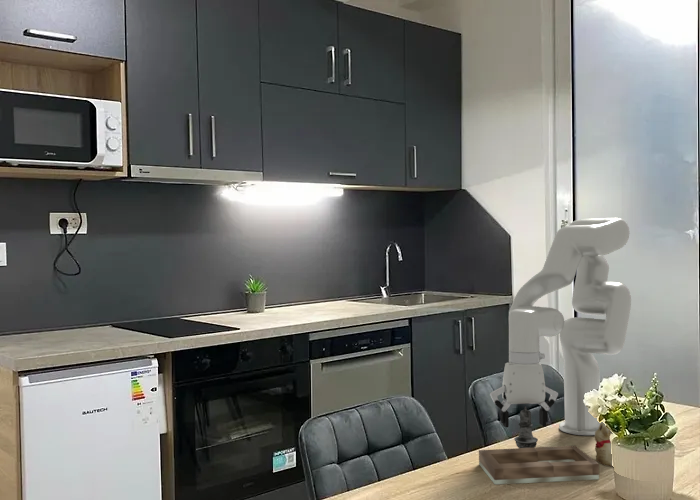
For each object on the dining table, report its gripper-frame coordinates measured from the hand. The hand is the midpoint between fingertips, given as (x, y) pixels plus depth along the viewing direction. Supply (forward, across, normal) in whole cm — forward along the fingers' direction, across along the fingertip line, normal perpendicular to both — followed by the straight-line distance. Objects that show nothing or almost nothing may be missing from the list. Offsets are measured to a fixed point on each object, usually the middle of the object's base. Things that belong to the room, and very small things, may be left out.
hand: (524, 425), depth 182 cm
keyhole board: (+7, +1, +13) cm, 15 cm away
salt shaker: (+7, -1, -1) cm, 7 cm away
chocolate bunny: (+7, -18, +8) cm, 21 cm away
